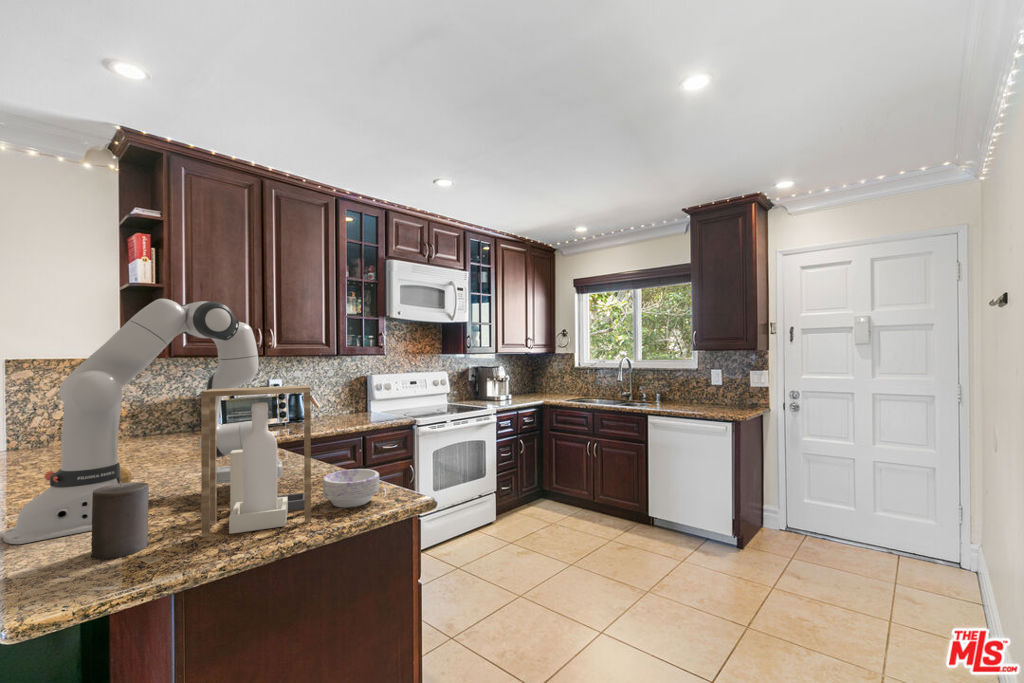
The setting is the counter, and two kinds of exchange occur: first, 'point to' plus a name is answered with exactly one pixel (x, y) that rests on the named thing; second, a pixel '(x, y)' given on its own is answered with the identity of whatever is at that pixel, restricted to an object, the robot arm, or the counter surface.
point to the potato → (125, 475)
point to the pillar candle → (119, 520)
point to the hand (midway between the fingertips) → (241, 479)
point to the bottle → (259, 464)
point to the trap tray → (295, 501)
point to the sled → (236, 518)
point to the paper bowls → (350, 487)
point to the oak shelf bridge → (210, 447)
